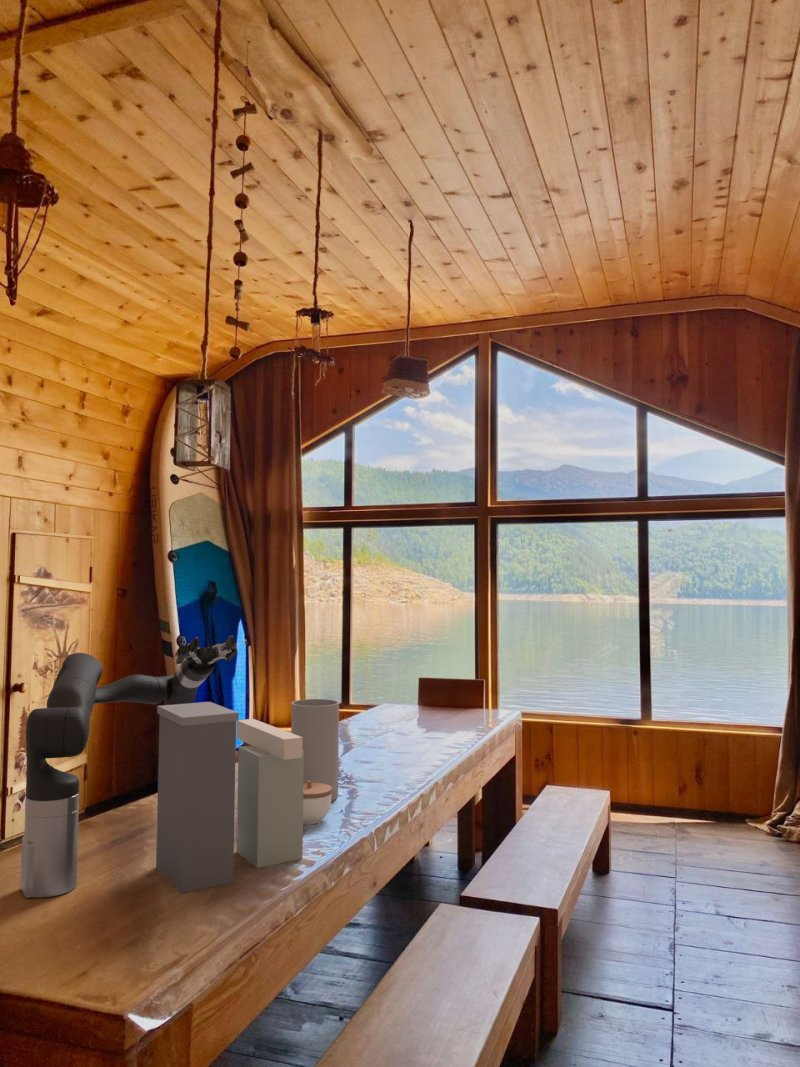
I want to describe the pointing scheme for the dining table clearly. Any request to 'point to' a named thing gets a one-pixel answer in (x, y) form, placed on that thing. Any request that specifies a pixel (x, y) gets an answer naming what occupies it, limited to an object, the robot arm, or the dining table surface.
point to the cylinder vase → (318, 739)
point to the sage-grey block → (269, 807)
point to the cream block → (270, 739)
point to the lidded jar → (315, 802)
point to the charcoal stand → (196, 795)
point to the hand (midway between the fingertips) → (215, 639)
